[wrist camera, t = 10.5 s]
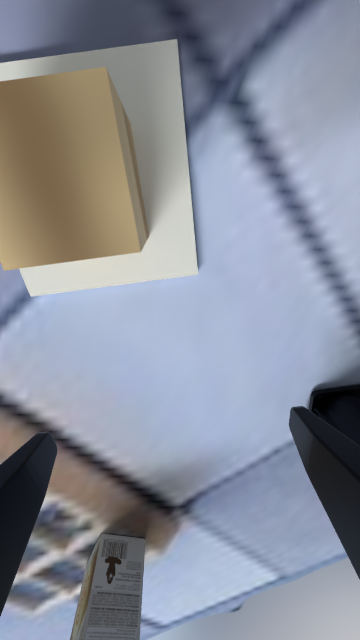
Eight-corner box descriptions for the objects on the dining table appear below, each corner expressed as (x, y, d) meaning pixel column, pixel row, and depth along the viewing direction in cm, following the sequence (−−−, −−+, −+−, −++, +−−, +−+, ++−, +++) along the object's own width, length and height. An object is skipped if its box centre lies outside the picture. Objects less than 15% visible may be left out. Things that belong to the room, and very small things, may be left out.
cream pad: (176, 46, 13) (177, 39, 12) (197, 272, 18) (198, 274, 17) (-52, 76, 13) (-62, 71, 12) (34, 293, 18) (30, 296, 17)
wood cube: (130, 122, 13) (106, 66, 8) (149, 236, 16) (140, 252, 11) (22, 137, 13) (-75, 92, 8) (59, 248, 16) (4, 270, 11)
